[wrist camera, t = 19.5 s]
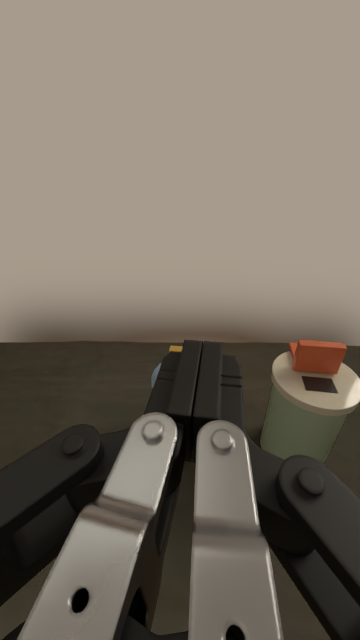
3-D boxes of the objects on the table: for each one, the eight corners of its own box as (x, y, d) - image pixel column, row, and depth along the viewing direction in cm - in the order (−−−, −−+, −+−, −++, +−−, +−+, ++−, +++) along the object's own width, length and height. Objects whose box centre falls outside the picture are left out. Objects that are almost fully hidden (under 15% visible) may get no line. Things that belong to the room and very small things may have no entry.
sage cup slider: (323, 348, 31) (332, 323, 29) (337, 374, 27) (347, 348, 25) (285, 345, 32) (291, 321, 30) (293, 370, 28) (300, 345, 26)
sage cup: (316, 422, 37) (344, 352, 30) (338, 487, 30) (381, 414, 23) (254, 415, 38) (267, 346, 32) (260, 475, 31) (279, 403, 24)
